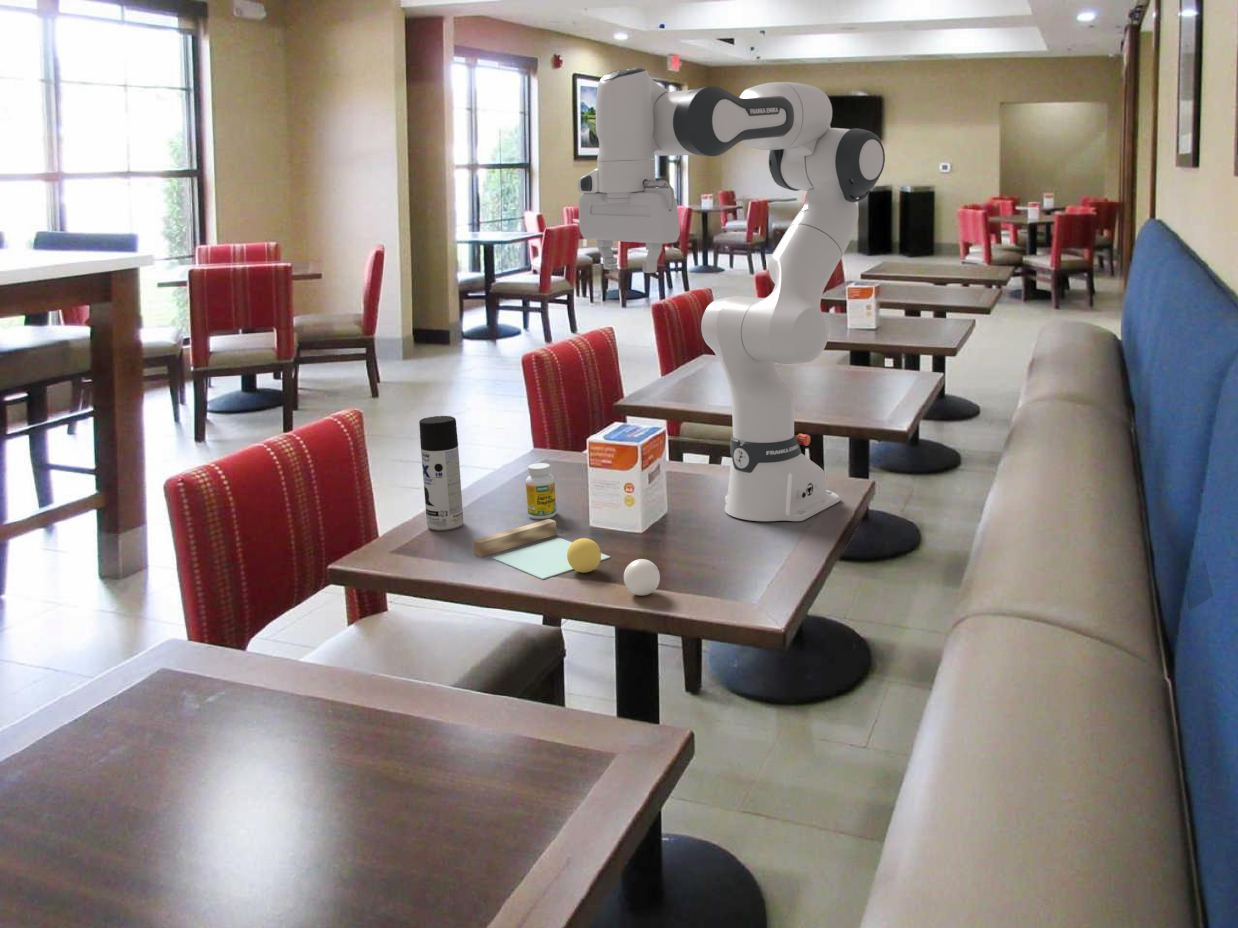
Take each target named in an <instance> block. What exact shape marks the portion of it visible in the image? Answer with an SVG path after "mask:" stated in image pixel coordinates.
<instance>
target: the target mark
mask: <svg viewBox="0 0 1238 928" xmlns="http://www.w3.org/2000/svg"><path fill="white" fill-rule="evenodd" d="M572 543H573V541H570V540H566V539H564V538H561V537H556V538H553V539H549V540H546V541H542V542H539V543H537V544H533V545H530V546H527V547H523V548H519V549H516V550H512V551H510V552H506V553H502V554H499V555H496V556H493V557H492V560H495V561H497V562H499V563H502V564H504V565H507V566H509V567H512V568H513V569H517V570H519V571H521V572H524V573H526V574H528V575H530V576H532V577H535V578H537V579H540V580H542V581H543V580H545V579H549V578H552V577H555V576H559V575H562V574H564V573H567V572H570V571H573V570H574V569H573V568H572V567H571V566H570V564H569V563H568V560H567V551H568V548H569V546H570V545H571V544H572ZM610 558H611V555H607V554H605V553H602V552H601V560H600V562H601V561H604V560H608V559H610ZM574 571H575V570H574Z"/></svg>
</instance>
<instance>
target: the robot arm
mask: <svg viewBox="0 0 1238 928" xmlns="http://www.w3.org/2000/svg"><path fill="white" fill-rule="evenodd" d="M832 118H833V106H832V103H831V100H830V98H829V96H828V95H827V94H826V93H825V92H824V91H823V90H822V89H820V88H819V87H817V86H813V85H809V84H806V83H805V84H804V83H802V82H794V81H793V82H791V81H773V82H766V83H762V84H758V85H754V86H752V87H748V88H745V89H744V90H743V91H742V93H741V94H740V95H739V96H736V95H735V94H733V93H731V92H729V91H728V90H727V89H724V88H722V87H720V86H716V85H715V86H714V85H713V86H710V85H709V86H706V87H700V88H695V89H685V90H673V91H670V89H667V88H665V87H663V86H662V85H660V84H658V83H657V82H656V81H655V80H654V79H652V77H651V76H650V75H649V71H648V70H647V69H645V68H642V67H633V68H627V69H620V70H616V71H611V72H609V73H606V74H604V76H602V77H601V78H600V80H599V82H598V85H597V89H596V96H595V132H596V133H595V134H596V136H597V138H598V139H597V140H598V145H599V146H598V153H597V159H596V160H597V168H595V169H593V170H592V171H590V172H589V173H587V174H585V175H584V176H582V177H579V179H578V180H577V182H576V184H577V186H576V187H577V191H578V192H579V193H580V194H581V195H580V196H579V198H578V224H579V233H580V234H581V236H582V238H583V239H584V240H592V241H595V240H596V242H597V243H596V244H597V245H596V246H597V249H598V252H599V253H600V256H601V258H602V263H603V265H602V266H603V269H604V270H617V268H618V257H615V256H614V252H613V249H612V247H613V246H614V242H627V243H628V242H629V243H632V242H633V243H642V244H643V243H645V250H646V251H647V254H646V257H645V260H642V261H641V266H642V268H641V269H642V272H643V273H644V274H645V273H646V274H654V273H657V272H658V260H659V257H660V256H661V253H662V251H663V244H673V243H676V242H677V241H678V239H679V237H680V236H681V235H680V234H681V233H680V232H681V231H680V230H681V229H680V219H679V218H680V217H679V212H678V211H679V210H678V209H679V208H678V204H677V199H676V197H675V190H674V188H673V187H672V185H671V184H670V183H669V182H668V181H667V180H665V179H659V180H656V156H657V157H669V156H672V157H674V156H701V157H702V156H703V157H718V156H721V155H723V154H725V153H727V152H728V151H729V150H731V149H732V148H733V147H735V146H736V145H737V144H739V143H740V142H741V143H743V145H744V146H746V147H748V148H752V149H756V150H763V151H769V154H768V168H769V173H770V175H771V178H772V179H773V181H774V183H776V185H777V186H779V187H780V188H783V189H785V190H786V189H787V190H790V191H793V192H799V191H804V192H806V197H805V200H804V201H805V202H804V204H803V207H802V208H801V209H800V210H799V212H798V213H797V214H796V216H795V217H794V218H793V220H792V221H791V223H790V225H789V226H788V228H787V229H786V230H785V233H784V234H783V236H782V238H781V239H780V241H779V243H778V244H777V246H776V247H775V249H774V250H773V252H772V253H771V256H770V257H769V259H768V265H767V267H768V273H769V277H770V280H771V281H772V282H773V284H774V286H773V289H772V292H771V293H769V295H768V296H766V297H755V296H745V295H733V296H727V297H722V298H717V299H714V300H713V301H711V302H710V303H709V304H708V305H707V306H706V309H705V310H704V312H703V315H702V317H701V325H700V326H701V327H700V331H701V334H702V335H701V336H702V338H703V340H704V342H705V344H706V345H707V346H708V347H709V348H710V349H711V350H712V351H713V353H714V354H715V356H716V357H717V359H718V361H719V363H720V365H721V368H722V370H723V372H724V375H725V377H726V380H727V384H728V387H729V392H730V396H731V397H730V398H731V415H732V434H731V435H730V442H729V448H730V457H731V461H730V466H729V475H728V488H727V489H728V490H727V494H725V497H724V502H725V506H724V512H725V513H726V514H728V515H729V516H731V517H732V518H733V517H734V518H736V519H740V520H746V521H754V522H777V521H779V522H780V521H788V522H802V521H805V520H807V519H809V518H810V517H813V516H815V515H816V514H818V513H820V512H822V511H824V510H826V509H828V508H829V507H831V506H834V505H835V504H837V503H839V502H840V496H839V495H838V494H837V493H836V492H833V491H831V490H828V489H827V486H828V485H827V476H826V473H825V471H824V470H823V468H821V466H819V465H818V464H817V463H815V462H814V461H812V460H811V459H809V458H808V457H807V456H806V455H805V454H803V453H802V450H801V447H800V445H803V446H804V447H805V446H806V447H807V446H809V445H810V443H811V439H812V438H811V436H810V435H809V434H803V433H798V434H797V435H796V434H795V396H794V393H793V391H792V389H791V387H790V386H789V385H788V383H786V382H785V381H784V380H783V379H782V377H781V376H780V375H779V373H778V370H777V368H776V366H775V364H782V365H797V364H798V365H799V364H805V363H811V362H813V361H815V360H817V359H818V358H819V357H820V356H821V355H822V353H823V352H824V350H825V348H826V346H827V343H828V339H829V326H828V322H827V319H826V317H825V315H824V314H823V312H822V308H821V302H822V297H823V296H822V295H823V293H824V291H825V288H826V287H827V285H828V282H829V281H830V280H831V277H832V274H833V273H834V272H835V269H836V268H837V266H838V264H839V262H840V261H841V259H842V257H843V255H844V254H845V252H846V250H847V249H848V246H849V244H850V241H851V240H852V237H853V234H854V232H855V229H856V226H857V223H858V221H859V220H858V219H859V207H858V205H857V204H856V203H859V202H860V201H862V200H864V199H865V198H867V196H868V195H869V194H870V192H871V189H872V188H874V186H875V185H876V184H877V182H878V180H879V179H880V177H881V175H882V172H883V170H884V169H885V161H886V157H885V156H886V154H885V148H884V146H883V143H882V140H881V139H880V137H879V136H878V135H877V134H876V133H874V132H872V131H871V130H870V131H869V130H868V129H867V130H866V129H863V128H858V127H856V128H841V127H840V128H839V127H831V123H832Z"/></svg>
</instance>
